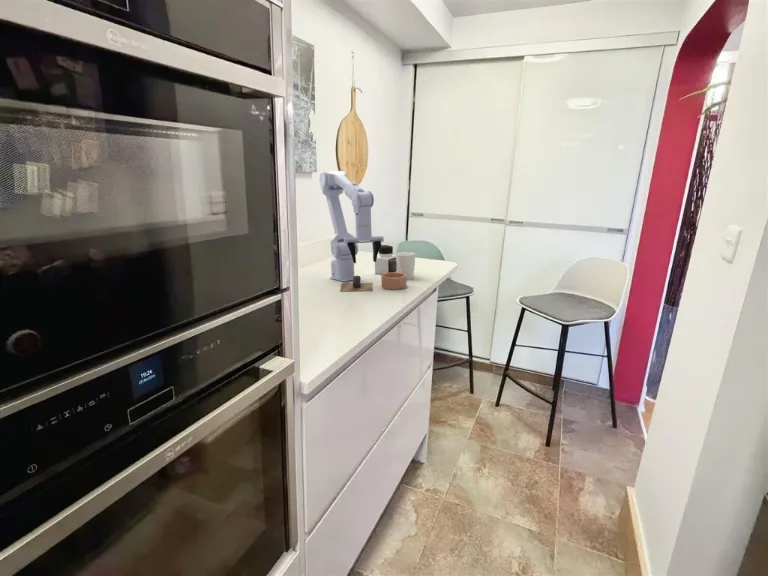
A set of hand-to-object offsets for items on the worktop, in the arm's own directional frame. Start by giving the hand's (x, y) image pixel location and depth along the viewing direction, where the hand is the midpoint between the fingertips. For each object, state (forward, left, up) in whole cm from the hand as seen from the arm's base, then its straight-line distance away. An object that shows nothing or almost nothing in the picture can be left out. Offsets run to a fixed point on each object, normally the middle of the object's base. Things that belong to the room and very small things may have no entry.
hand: (364, 262), depth 159 cm
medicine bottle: (-11, +23, -10) cm, 28 cm away
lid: (-3, -2, -11) cm, 11 cm away
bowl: (+7, +8, -10) cm, 15 cm away
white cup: (+1, +22, -10) cm, 25 cm away
